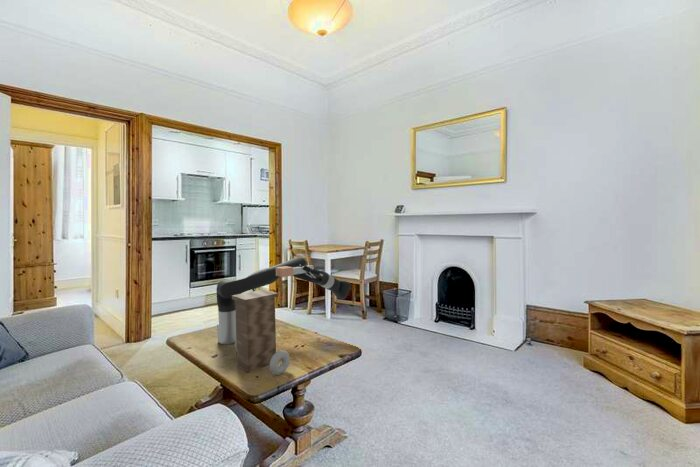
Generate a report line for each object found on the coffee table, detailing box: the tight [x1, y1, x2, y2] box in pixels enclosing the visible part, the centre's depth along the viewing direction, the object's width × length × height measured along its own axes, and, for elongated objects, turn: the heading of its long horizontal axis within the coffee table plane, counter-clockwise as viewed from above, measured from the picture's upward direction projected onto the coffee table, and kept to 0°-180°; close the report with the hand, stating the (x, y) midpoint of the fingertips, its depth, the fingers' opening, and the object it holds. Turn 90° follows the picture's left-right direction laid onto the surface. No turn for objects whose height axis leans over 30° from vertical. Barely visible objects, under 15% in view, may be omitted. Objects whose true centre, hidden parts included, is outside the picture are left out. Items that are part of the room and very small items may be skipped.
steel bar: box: [276, 264, 315, 278], centre depth 164 cm, size 20×6×4 cm, turn 136°
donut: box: [269, 349, 291, 376], centre depth 140 cm, size 10×4×10 cm, turn 143°
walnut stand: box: [232, 289, 279, 374], centre depth 149 cm, size 16×12×32 cm
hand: (301, 266), depth 167 cm, fingers closed on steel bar, 3 cm apart
